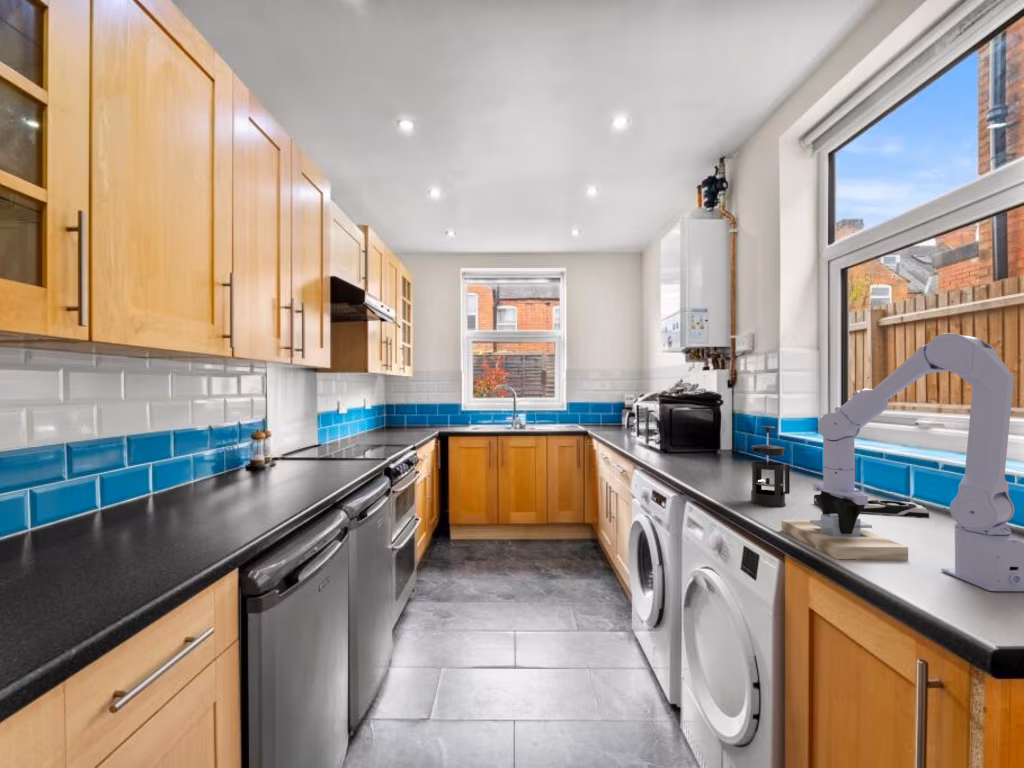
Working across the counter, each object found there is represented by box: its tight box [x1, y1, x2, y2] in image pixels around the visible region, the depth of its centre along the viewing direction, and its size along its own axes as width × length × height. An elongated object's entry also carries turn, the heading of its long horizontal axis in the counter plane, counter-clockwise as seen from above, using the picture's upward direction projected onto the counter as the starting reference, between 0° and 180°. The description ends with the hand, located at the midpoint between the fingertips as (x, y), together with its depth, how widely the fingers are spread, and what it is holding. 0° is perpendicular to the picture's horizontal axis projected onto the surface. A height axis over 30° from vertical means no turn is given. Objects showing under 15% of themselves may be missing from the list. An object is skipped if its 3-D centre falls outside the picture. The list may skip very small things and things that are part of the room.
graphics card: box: [813, 495, 930, 518], centre depth 136 cm, size 10×3×25 cm
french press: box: [749, 425, 791, 508], centre depth 144 cm, size 12×9×23 cm
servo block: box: [809, 513, 873, 537], centre depth 106 cm, size 4×11×5 cm, turn 91°
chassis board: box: [781, 519, 909, 561], centre depth 106 cm, size 20×14×2 cm
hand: (838, 530), depth 106 cm, fingers closed on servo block, 4 cm apart
